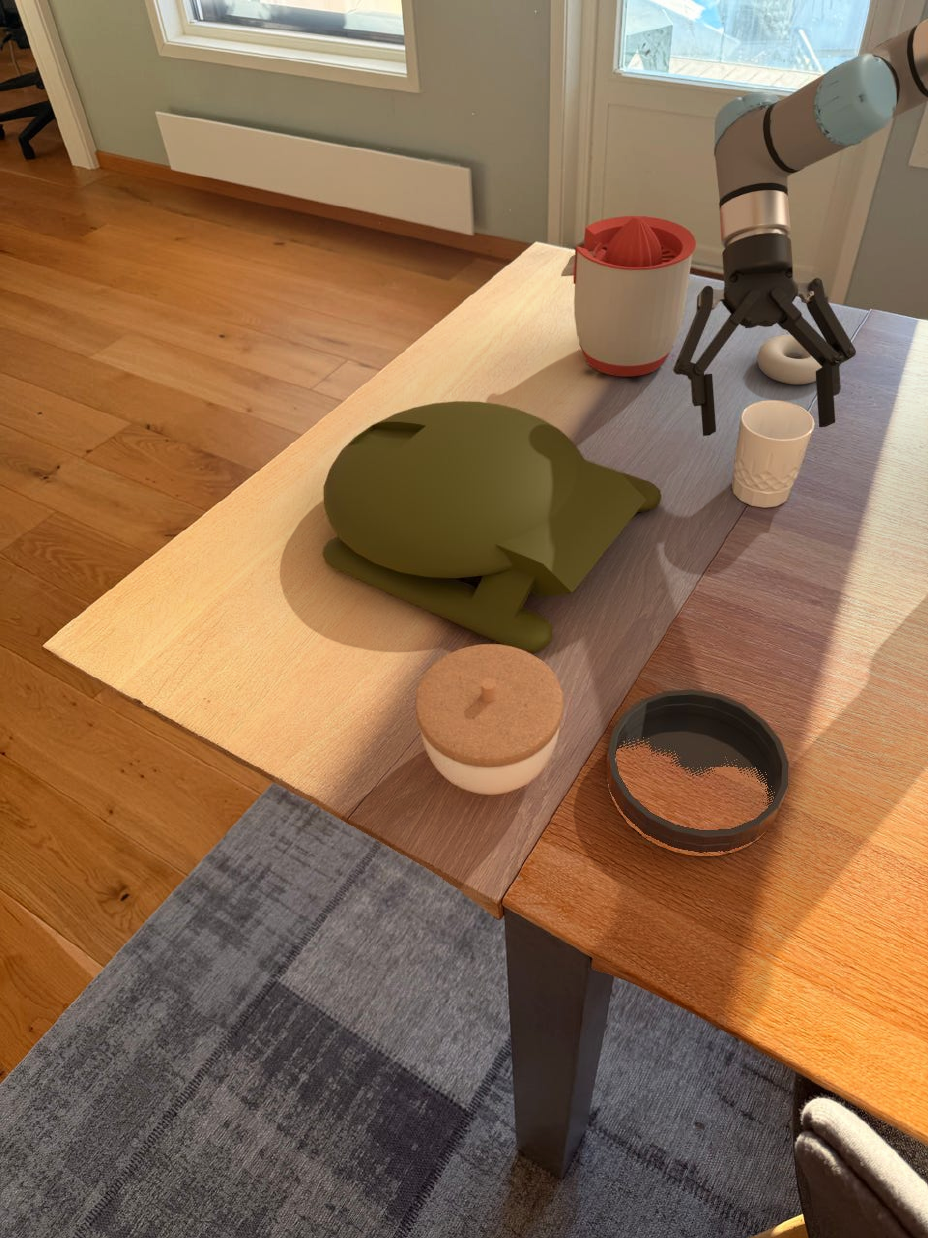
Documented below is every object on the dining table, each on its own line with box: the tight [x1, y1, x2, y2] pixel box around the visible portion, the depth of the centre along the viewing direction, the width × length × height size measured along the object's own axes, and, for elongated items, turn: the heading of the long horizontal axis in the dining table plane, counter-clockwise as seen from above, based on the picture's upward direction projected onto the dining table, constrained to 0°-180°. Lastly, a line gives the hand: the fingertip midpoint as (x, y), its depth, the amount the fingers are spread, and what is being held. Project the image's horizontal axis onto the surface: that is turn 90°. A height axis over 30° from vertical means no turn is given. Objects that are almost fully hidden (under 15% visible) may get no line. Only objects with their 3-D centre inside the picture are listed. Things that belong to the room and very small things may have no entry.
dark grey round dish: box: [605, 688, 790, 853], centre depth 80 cm, size 15×15×4 cm
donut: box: [756, 333, 822, 385], centre depth 125 cm, size 10×4×10 cm
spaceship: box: [322, 400, 662, 654], centre depth 103 cm, size 35×31×10 cm
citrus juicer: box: [560, 215, 697, 377], centre depth 123 cm, size 16×17×20 cm
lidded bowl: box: [414, 643, 564, 796], centre depth 79 cm, size 13×13×11 cm
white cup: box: [731, 399, 815, 509], centre depth 105 cm, size 8×8×10 cm
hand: (768, 429), depth 104 cm, fingers open, 13 cm apart
